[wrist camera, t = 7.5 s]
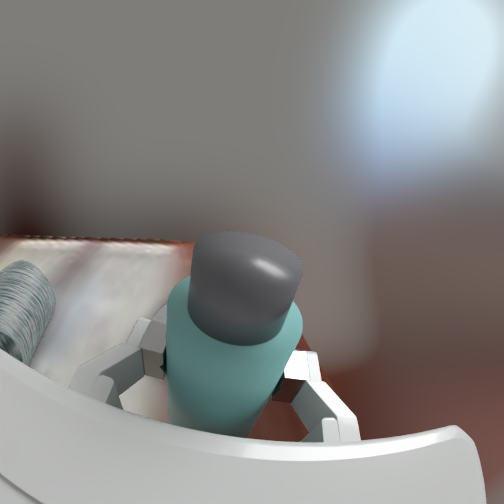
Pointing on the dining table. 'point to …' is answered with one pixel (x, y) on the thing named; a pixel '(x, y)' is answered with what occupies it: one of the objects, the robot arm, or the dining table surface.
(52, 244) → the dining table surface
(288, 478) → the robot arm
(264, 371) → the bottle
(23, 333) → the spool
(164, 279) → the dining table surface
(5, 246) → the dining table surface
